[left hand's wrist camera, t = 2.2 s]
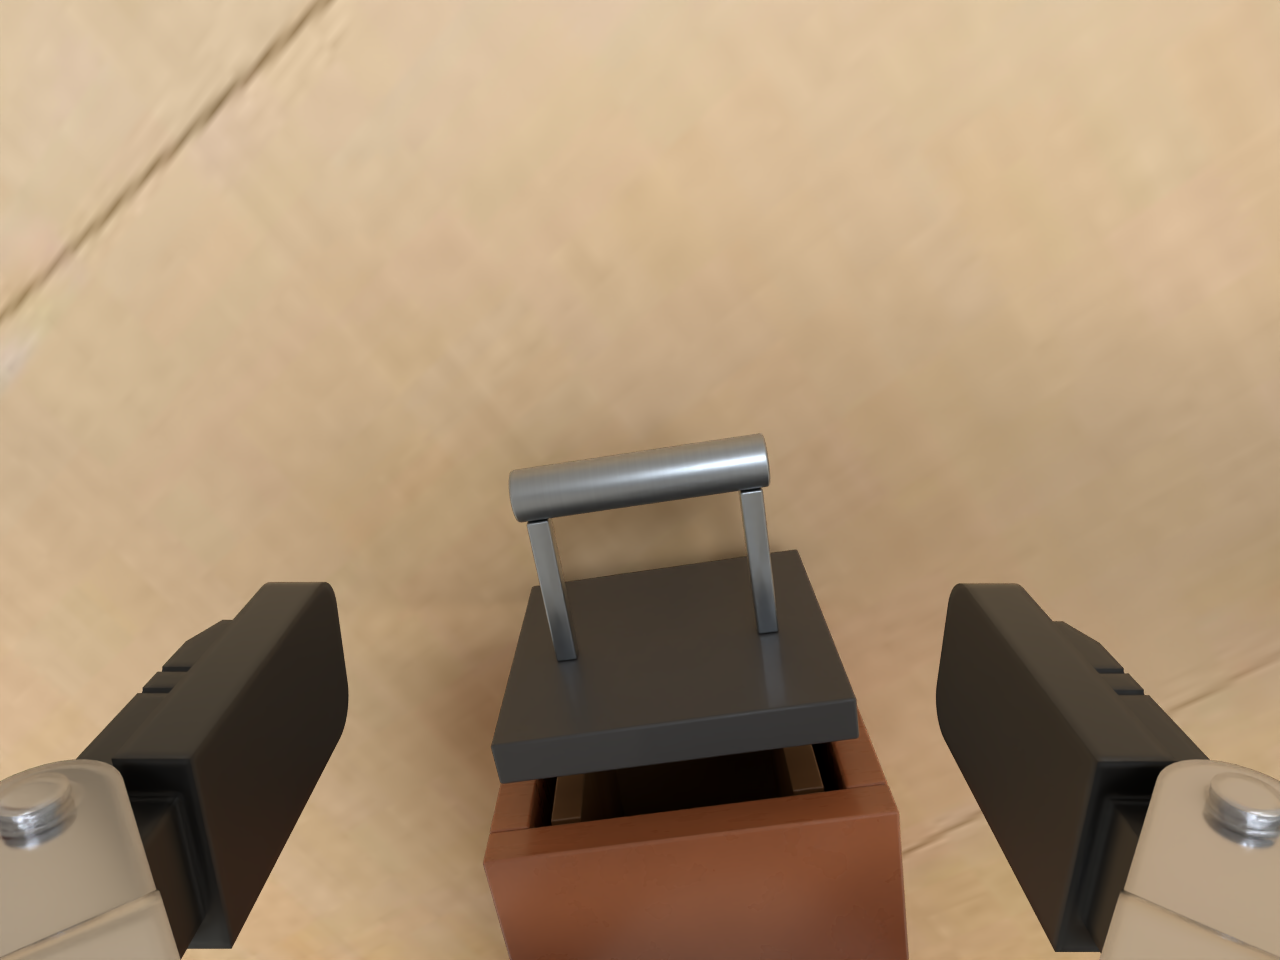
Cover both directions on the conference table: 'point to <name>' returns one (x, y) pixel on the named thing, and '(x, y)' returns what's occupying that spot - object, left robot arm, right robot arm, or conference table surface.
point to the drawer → (668, 653)
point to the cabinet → (708, 874)
